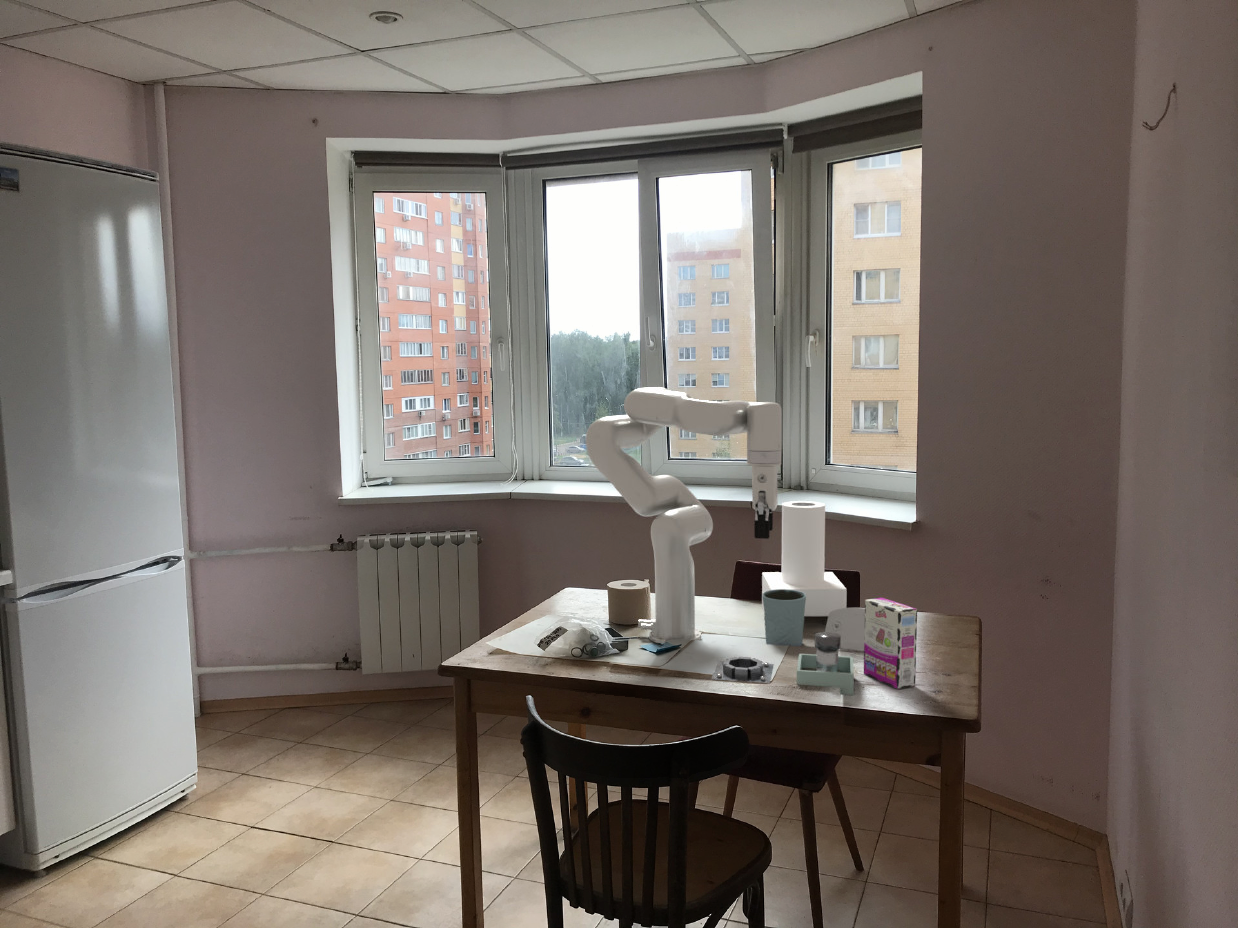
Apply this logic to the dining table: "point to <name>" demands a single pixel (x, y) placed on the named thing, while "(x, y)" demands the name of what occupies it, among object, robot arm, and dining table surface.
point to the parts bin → (827, 674)
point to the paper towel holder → (806, 560)
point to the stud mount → (743, 670)
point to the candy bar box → (890, 642)
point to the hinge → (848, 627)
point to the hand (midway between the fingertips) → (763, 534)
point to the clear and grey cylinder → (827, 651)
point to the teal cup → (784, 616)
